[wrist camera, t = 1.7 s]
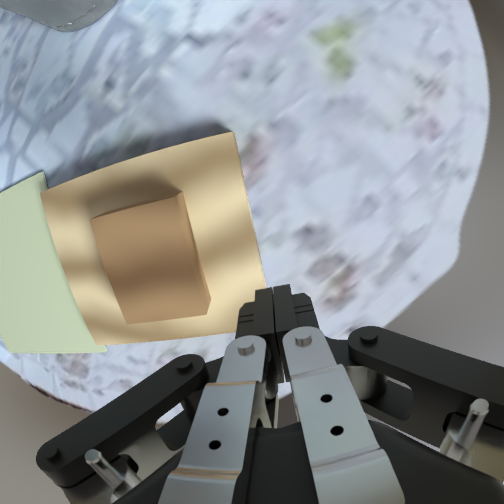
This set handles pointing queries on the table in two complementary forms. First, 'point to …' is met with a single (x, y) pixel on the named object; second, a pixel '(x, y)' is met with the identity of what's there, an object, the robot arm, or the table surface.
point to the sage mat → (35, 280)
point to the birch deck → (202, 222)
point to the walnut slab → (152, 260)
